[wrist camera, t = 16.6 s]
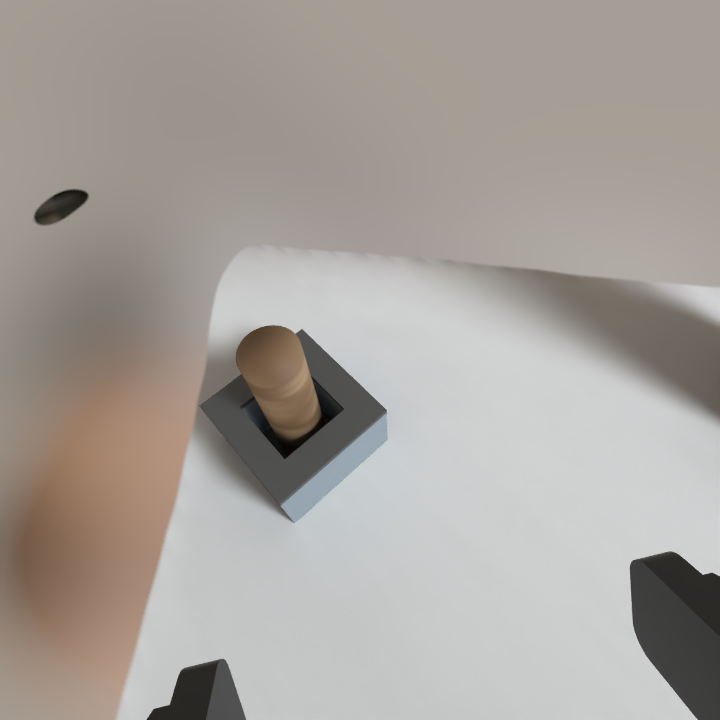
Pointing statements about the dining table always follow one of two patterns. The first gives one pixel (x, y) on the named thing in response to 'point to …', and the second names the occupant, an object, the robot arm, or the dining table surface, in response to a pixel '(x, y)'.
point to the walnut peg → (281, 384)
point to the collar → (318, 454)
